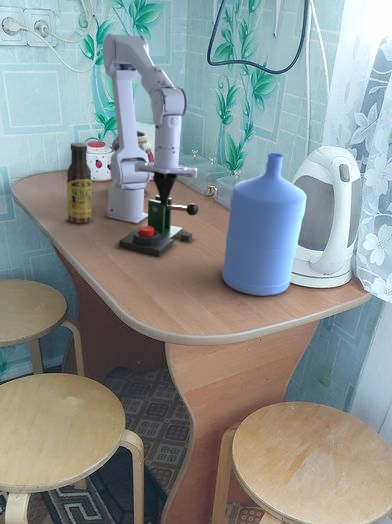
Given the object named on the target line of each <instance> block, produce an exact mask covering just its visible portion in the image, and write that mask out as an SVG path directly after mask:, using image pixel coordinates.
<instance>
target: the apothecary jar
mask: <svg viewBox="0 0 392 524" xmlns="http://www.w3.org/2000/svg"><path fill="white" fill-rule="evenodd" d="M137 139H138V147H139V148H140V149H142V150H143V151H144V152H145V153H146V154H147V156H148V155H149V154H150V153H151V152H152V145H151V143H150V141H148V139H147V133H145V132H144V131H140V130H137ZM119 147H120V146H119V137H118V135H117V136H116V138H115V139H114V140H113V141H112V143H111V148H112V150H113V151H114V153H115V152H116V151H117V150H118V149H119ZM129 160H137V159H134V158H133V159H122V160H121V161H129ZM146 195H147V191H146V190H145V189H144V197H145V196H146Z"/></svg>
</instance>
